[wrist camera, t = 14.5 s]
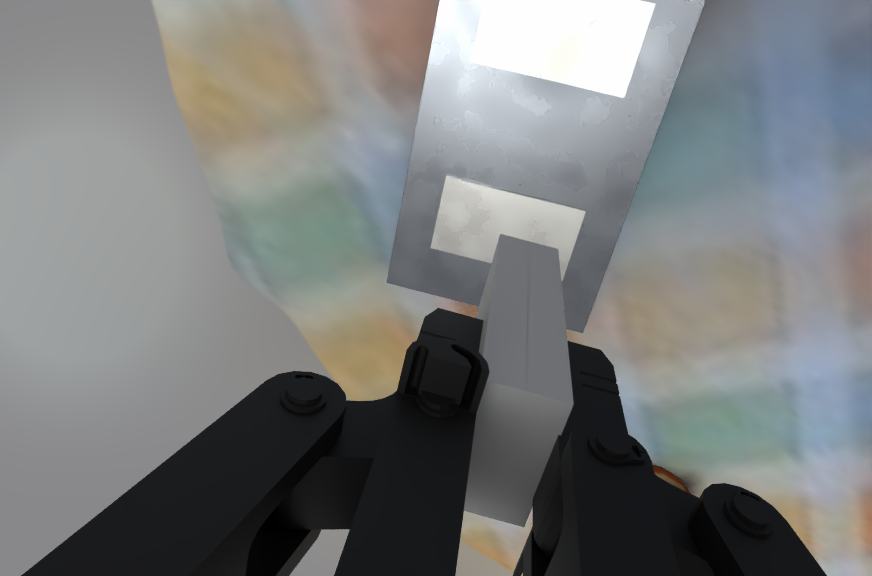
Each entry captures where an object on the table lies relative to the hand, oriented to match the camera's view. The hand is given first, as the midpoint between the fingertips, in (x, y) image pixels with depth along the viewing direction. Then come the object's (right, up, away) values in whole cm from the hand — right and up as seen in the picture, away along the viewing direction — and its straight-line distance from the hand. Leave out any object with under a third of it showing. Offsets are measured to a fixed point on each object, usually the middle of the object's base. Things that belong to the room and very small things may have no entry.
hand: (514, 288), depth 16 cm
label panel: (+4, +12, +22) cm, 25 cm away
